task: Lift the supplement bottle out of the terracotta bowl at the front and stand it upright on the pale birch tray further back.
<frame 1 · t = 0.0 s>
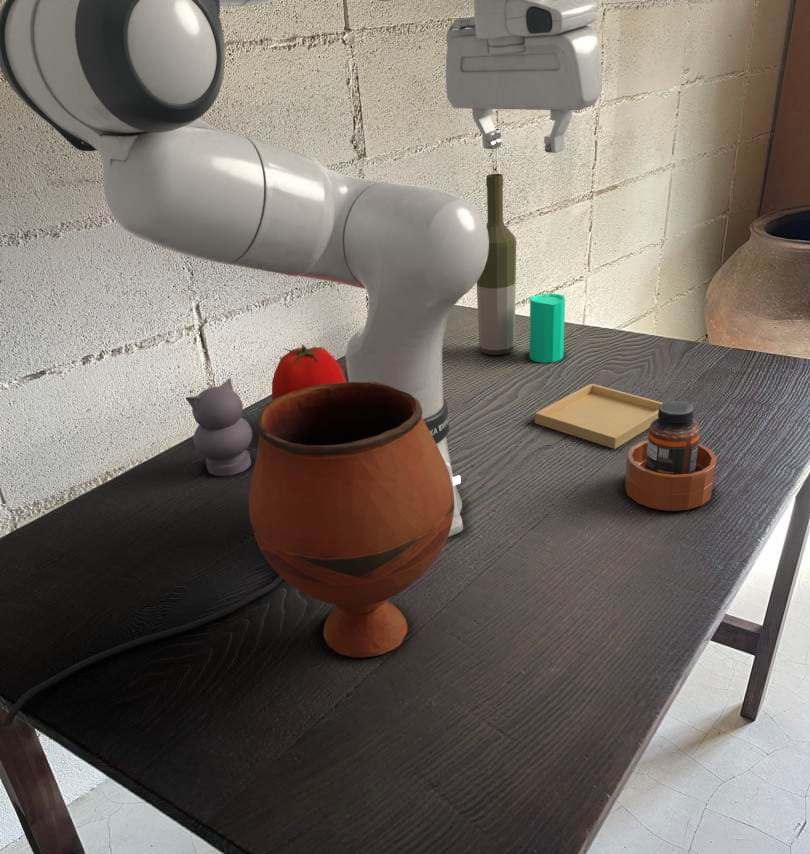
hand: (522, 149, 98), 39 cm above the table, tool pointing down, fingers open, 8 cm apart
cat figurine: (229, 467, 120), on the table
tomato: (315, 429, 129), on the table
supplement bottle: (667, 491, 105), resting on bowl
candle: (546, 357, 147), on the table
bottle: (497, 352, 152), on the table
skull: (377, 392, 140), on the table
tray: (601, 419, 124), on the table
bowl: (667, 491, 105), on the table
goblet: (367, 633, 85), on the table
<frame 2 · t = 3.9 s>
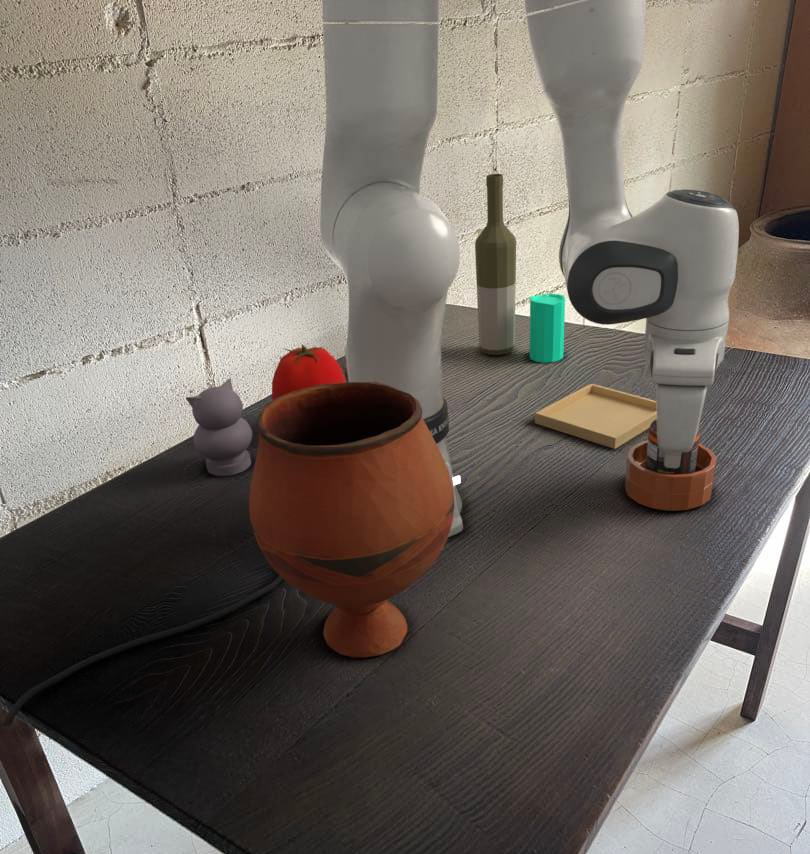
hand: (672, 451, 102), 6 cm above the table, tool pointing down, fingers closed on supplement bottle, 6 cm apart
supplement bottle: (667, 490, 105), resting on bowl, touching gripper
everything else where it was.
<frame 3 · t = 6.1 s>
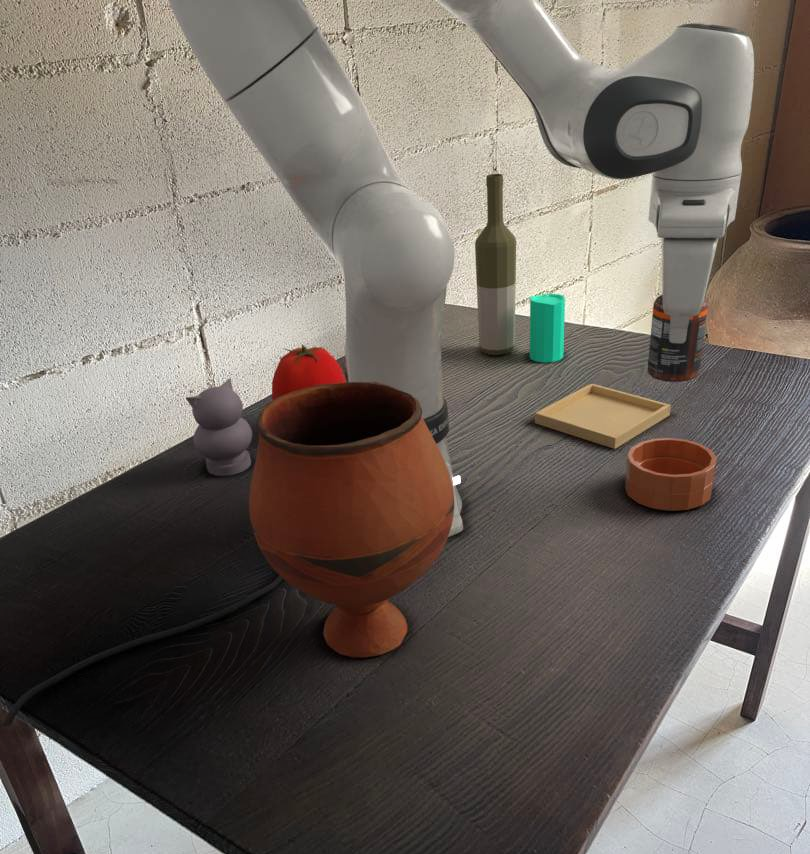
hand: (677, 330, 95), 20 cm above the table, tool pointing down, fingers closed on supplement bottle, 6 cm apart
supplement bottle: (672, 376, 98), point 15 cm above the table, touching gripper
everything else where it was.
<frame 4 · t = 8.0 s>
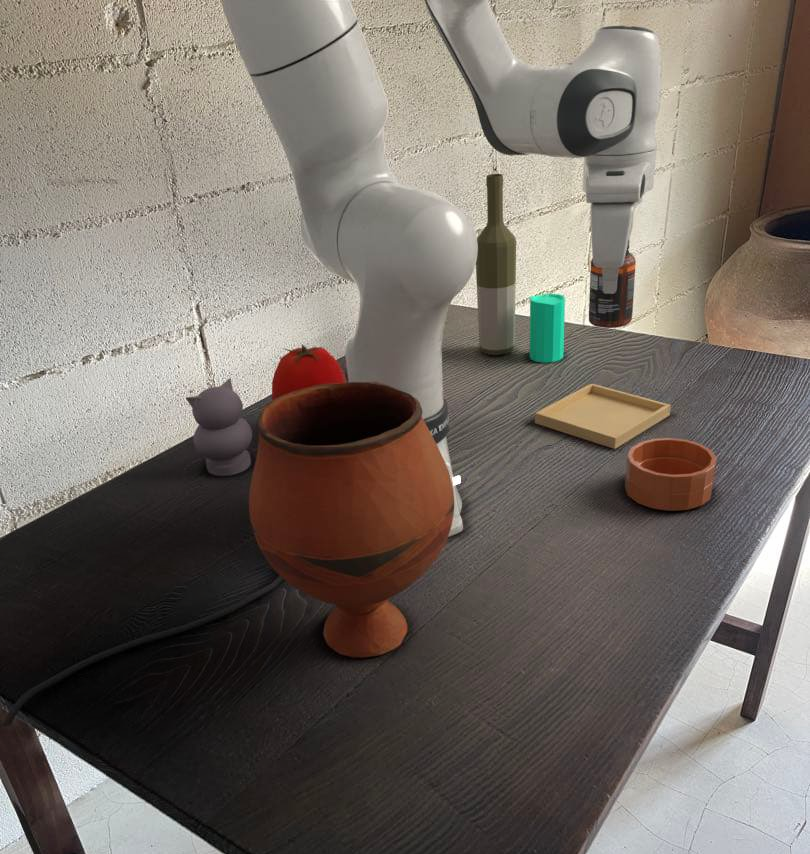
hand: (611, 284, 112), 20 cm above the table, tool pointing down, fingers closed on supplement bottle, 6 cm apart
supplement bottle: (609, 324, 115), point 15 cm above the table, touching gripper
everything else where it was.
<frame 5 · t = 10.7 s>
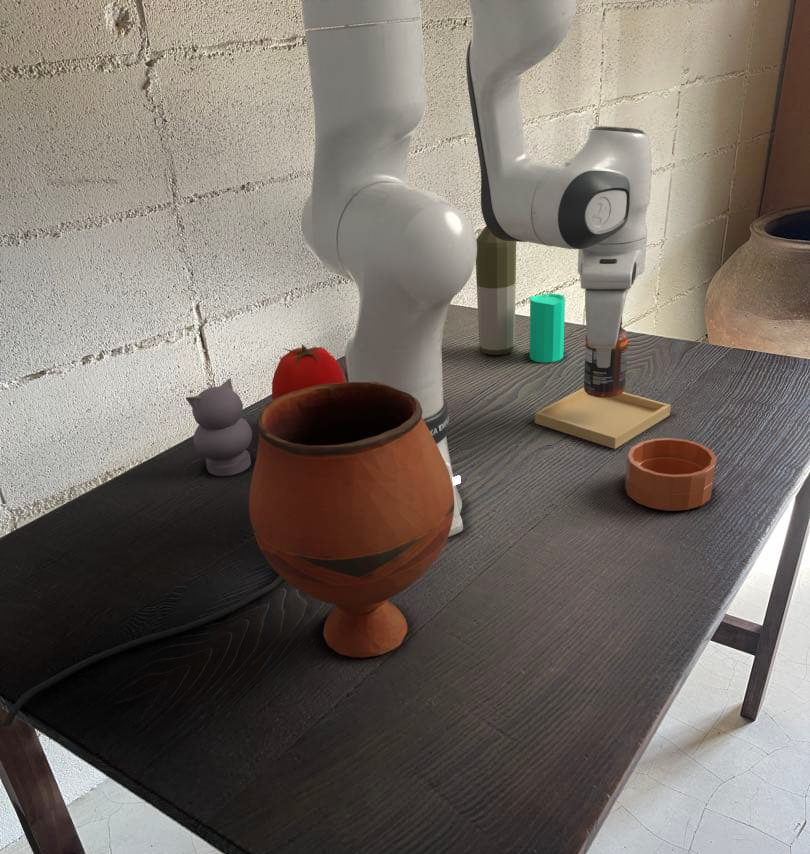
hand: (605, 356, 119), 10 cm above the table, tool pointing down, fingers closed on supplement bottle, 6 cm apart
supplement bottle: (603, 392, 122), point 4 cm above the table, touching gripper
everything else where it was.
when the fingers open (6 cm above the table, at t = 12.6 s): supplement bottle stays where it is, resting on tray.
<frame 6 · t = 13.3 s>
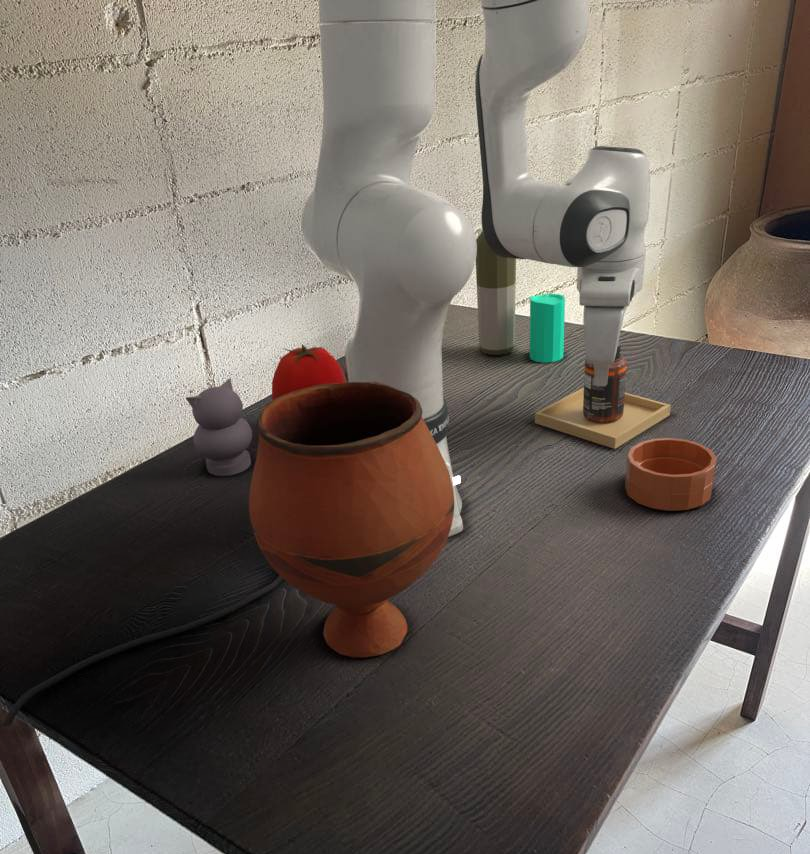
hand: (603, 372, 120), 8 cm above the table, tool pointing down, fingers open, 8 cm apart
supplement bottle: (602, 417, 124), resting on tray
everything else where it was.
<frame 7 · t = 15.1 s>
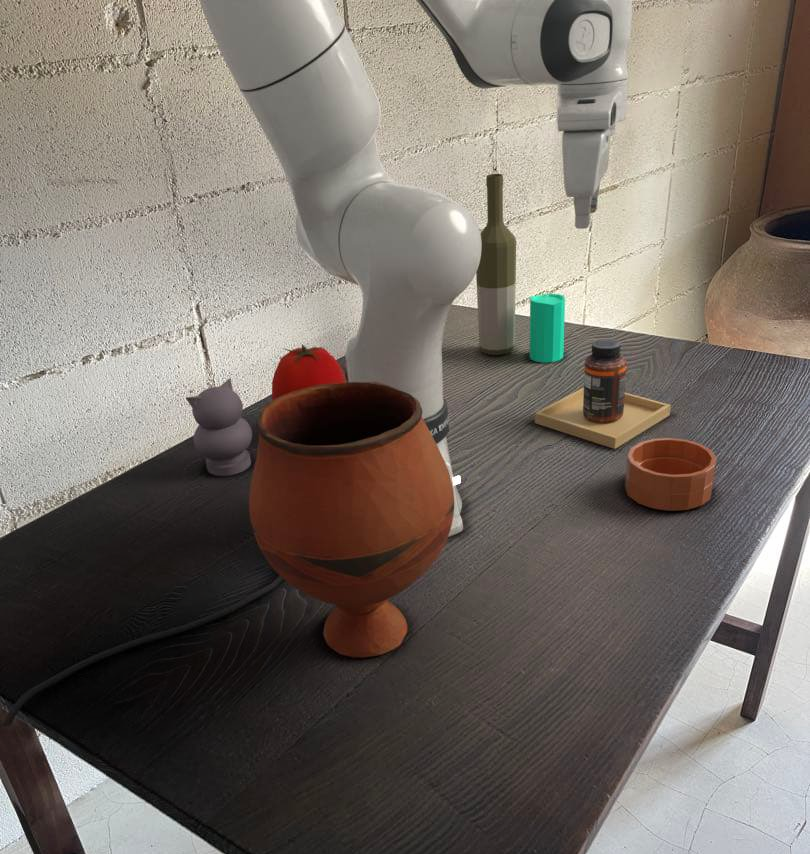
hand: (586, 219, 114), 28 cm above the table, tool pointing down, fingers open, 8 cm apart
nothing on the table moved.
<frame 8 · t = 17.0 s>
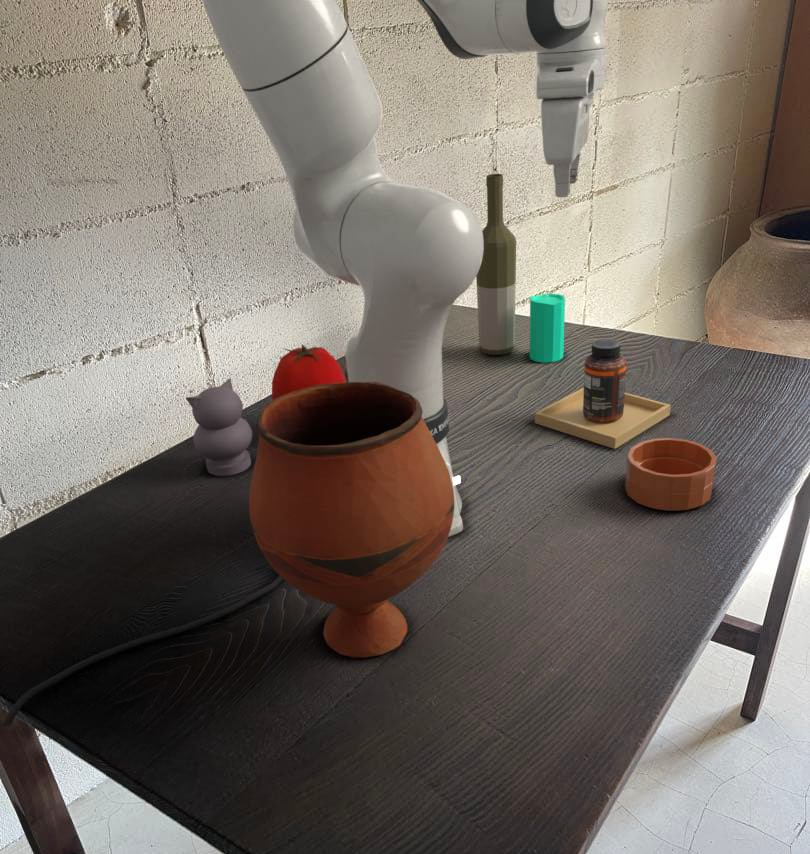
hand: (566, 189, 115), 31 cm above the table, tool pointing down, fingers open, 8 cm apart
nothing on the table moved.
at the end: supplement bottle inside the target area in the tray (0.1 cm from its centre), point 0.3 cm above the tray's base; supplement bottle tilted 0° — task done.
